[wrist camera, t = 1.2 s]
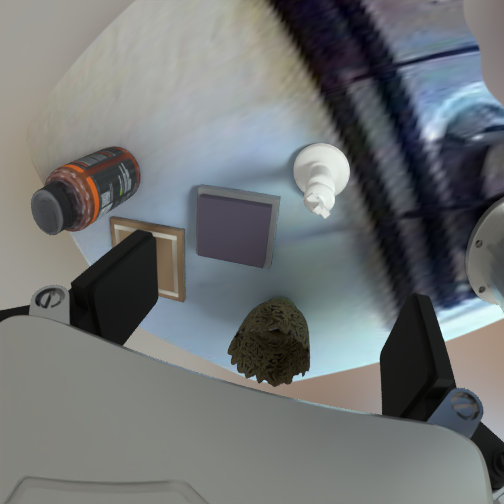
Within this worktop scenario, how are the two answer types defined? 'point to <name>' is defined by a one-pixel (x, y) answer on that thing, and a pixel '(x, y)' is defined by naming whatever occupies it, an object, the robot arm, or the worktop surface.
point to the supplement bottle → (85, 190)
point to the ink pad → (236, 225)
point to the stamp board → (159, 253)
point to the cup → (272, 343)
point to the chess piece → (321, 176)
